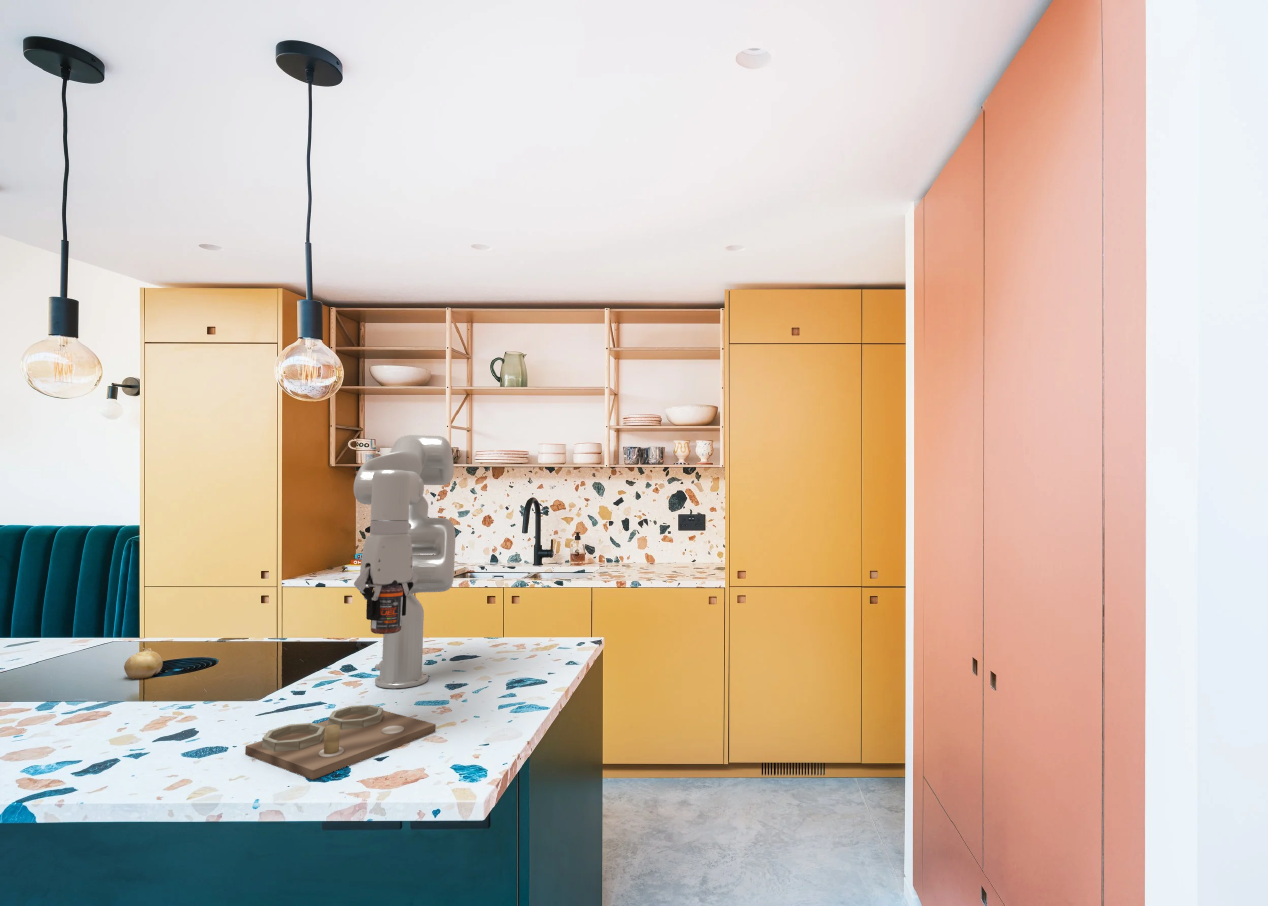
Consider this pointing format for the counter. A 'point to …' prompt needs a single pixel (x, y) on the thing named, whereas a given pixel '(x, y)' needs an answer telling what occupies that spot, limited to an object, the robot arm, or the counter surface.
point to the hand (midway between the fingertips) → (386, 616)
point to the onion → (143, 664)
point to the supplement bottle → (389, 610)
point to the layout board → (346, 741)
